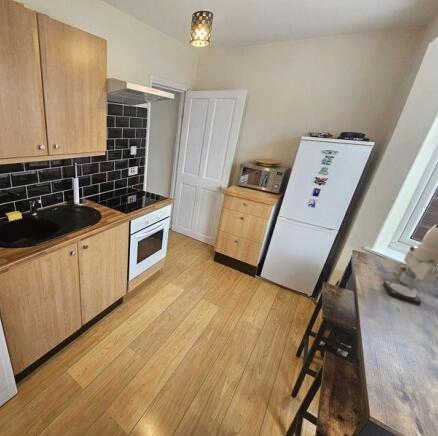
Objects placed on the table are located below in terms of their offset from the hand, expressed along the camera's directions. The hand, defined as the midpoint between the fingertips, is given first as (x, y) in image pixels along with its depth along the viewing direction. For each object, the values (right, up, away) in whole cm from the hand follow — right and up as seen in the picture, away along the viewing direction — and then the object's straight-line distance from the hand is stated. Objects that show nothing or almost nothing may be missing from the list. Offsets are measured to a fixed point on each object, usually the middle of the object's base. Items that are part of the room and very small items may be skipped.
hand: (410, 279), depth 114 cm
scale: (-1, -9, +4) cm, 10 cm away
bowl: (0, -2, +1) cm, 3 cm away
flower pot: (+13, -6, +14) cm, 20 cm away
